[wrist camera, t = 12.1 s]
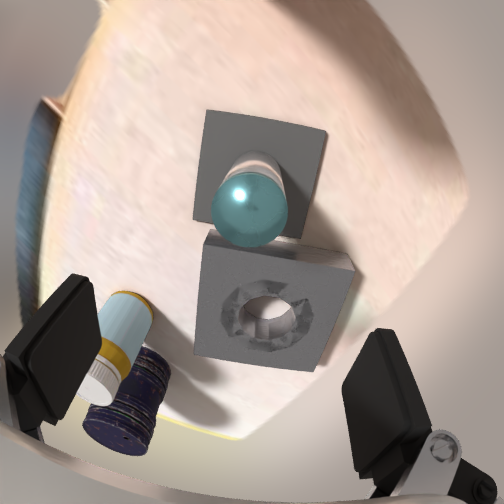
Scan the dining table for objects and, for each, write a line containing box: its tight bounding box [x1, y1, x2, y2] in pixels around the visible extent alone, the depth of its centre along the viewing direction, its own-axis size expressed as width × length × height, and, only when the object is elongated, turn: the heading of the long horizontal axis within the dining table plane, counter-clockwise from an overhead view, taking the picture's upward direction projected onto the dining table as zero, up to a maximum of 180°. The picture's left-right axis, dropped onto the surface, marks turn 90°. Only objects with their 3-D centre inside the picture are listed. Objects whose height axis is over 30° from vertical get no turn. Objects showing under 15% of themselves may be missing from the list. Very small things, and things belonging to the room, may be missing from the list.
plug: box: [211, 151, 288, 247], centre depth 25 cm, size 5×5×12 cm
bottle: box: [76, 291, 153, 406], centre depth 34 cm, size 7×7×15 cm
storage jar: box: [82, 346, 171, 456], centre depth 39 cm, size 10×10×15 cm
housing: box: [194, 229, 355, 372], centre depth 36 cm, size 16×16×4 cm
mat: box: [193, 110, 326, 239], centre depth 31 cm, size 12×12×1 cm
